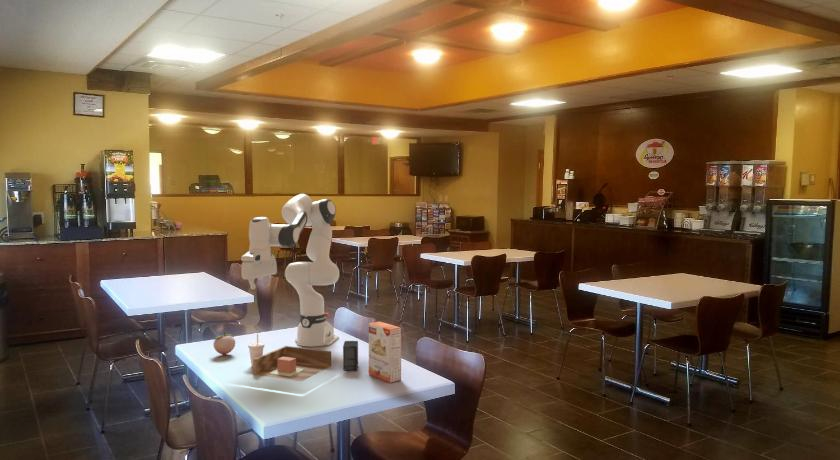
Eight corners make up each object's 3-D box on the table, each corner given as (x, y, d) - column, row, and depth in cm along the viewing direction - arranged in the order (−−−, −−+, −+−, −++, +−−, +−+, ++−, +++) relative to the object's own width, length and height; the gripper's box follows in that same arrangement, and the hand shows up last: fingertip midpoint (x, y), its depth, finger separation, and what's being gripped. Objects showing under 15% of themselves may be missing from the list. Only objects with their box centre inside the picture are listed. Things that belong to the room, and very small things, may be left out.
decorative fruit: (223, 359, 256) (223, 336, 255) (210, 356, 260) (210, 333, 259) (240, 354, 264) (239, 331, 263) (227, 351, 268) (226, 329, 267)
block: (296, 370, 237) (296, 358, 236) (290, 373, 233) (290, 360, 233) (283, 368, 239) (283, 356, 239) (277, 371, 235) (277, 359, 235)
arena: (285, 361, 253) (285, 345, 252) (331, 367, 245) (331, 351, 244) (253, 376, 232) (253, 359, 232) (301, 383, 224) (301, 365, 224)
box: (344, 365, 247) (344, 340, 247) (358, 365, 248) (358, 340, 247) (342, 371, 239) (342, 345, 239) (357, 371, 240) (357, 345, 239)
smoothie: (260, 370, 240) (259, 336, 239) (245, 369, 241) (245, 335, 240) (267, 365, 246) (267, 332, 245) (253, 364, 247) (252, 331, 247)
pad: (283, 366, 242) (283, 366, 242) (304, 369, 239) (304, 369, 239) (268, 373, 233) (268, 373, 233) (290, 376, 229) (290, 376, 229)
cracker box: (367, 375, 235) (367, 322, 234) (380, 372, 239) (380, 320, 237) (389, 383, 224) (389, 329, 223) (401, 380, 228) (402, 326, 227)
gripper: (268, 252, 264) (268, 283, 265) (238, 257, 245) (238, 290, 246) (280, 253, 262) (280, 284, 263) (251, 257, 243) (251, 291, 244)
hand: (260, 287), depth 254 cm, fingers open, 8 cm apart
